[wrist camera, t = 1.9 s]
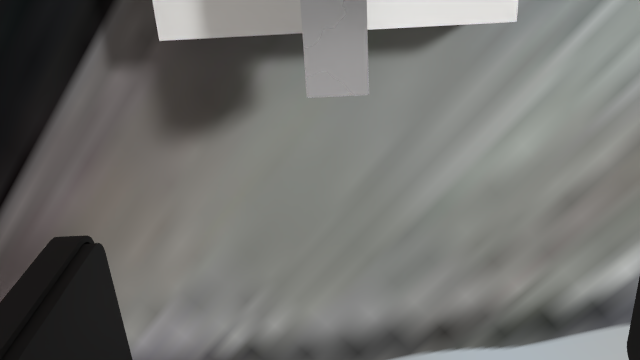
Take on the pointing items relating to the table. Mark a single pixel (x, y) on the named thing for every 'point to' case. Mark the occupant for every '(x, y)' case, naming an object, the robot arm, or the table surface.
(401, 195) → the table surface
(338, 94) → the key
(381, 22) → the housing
